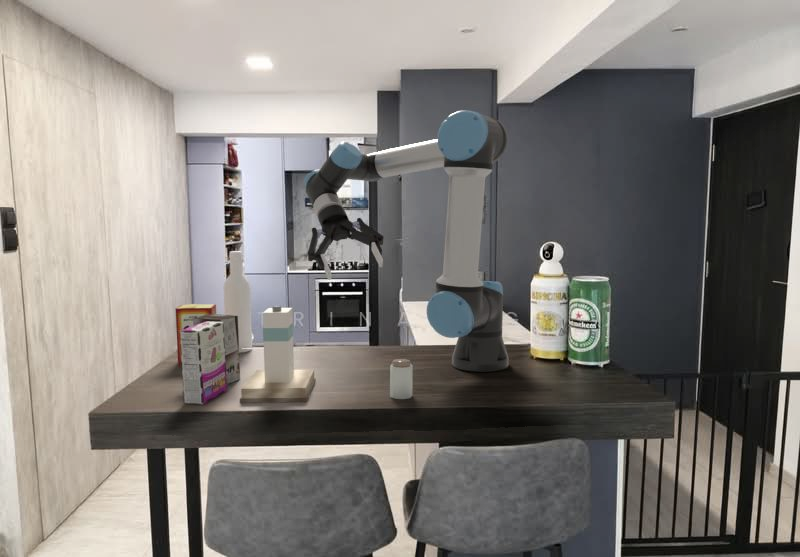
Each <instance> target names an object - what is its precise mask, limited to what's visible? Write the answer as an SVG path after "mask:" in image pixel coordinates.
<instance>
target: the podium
mask: <svg viewBox="0 0 800 557" xmlns="http://www.w3.org/2000/svg"><path fill="white" fill-rule="evenodd" d="M315 381H317V379H316V377H315V369H312V368H311V369H310V368H309V369H308V368H307V369H294V375H293V377H292V379H291V380H290V382H282V383H265V369H256V370H255V372H254V373H253V374H252V375H251V376H250V377H249V379H248V380H247V381H246V382H245V383H244V384H243V386H242V387H241V389H240V390H241V392H240V394H241V396H240V398H239V403H240V402H242V403H299V402H300V403H302V402H303V403H305V402H306V403H307V402H308V400H309V398H310V396H311V393H312V390H313V388H314V387H315V384H316V382H315Z"/></svg>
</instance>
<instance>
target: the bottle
mask: <svg viewBox="0 0 800 557" xmlns="http://www.w3.org/2000/svg"><path fill="white" fill-rule="evenodd" d="M228 257H229V272H230V274H229V275H228V276H227V278H226V279H225V280H224V284H223V305H224V306H223V307H224V309H223V310H224V315H233V316H238V336H239V354H240V353H241V352H242V353H248V352H251V351H252V350H253V332H252V299H251V298H252V297H251V295H252V293H251V283H250V281H249V279H248V278H247V277H246V276H245V275H244V274H243V273H244V272H243V252H242V251H240V250H232V251H229V255H228ZM242 348H252V349H242Z"/></svg>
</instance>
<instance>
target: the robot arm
mask: <svg viewBox="0 0 800 557" xmlns="http://www.w3.org/2000/svg"><path fill="white" fill-rule="evenodd" d="M508 146H509V135H508V131H507V128H506V127H505V126H504V124H503V123H502V122H501V121H499V120H498V119H497V118H494V117H490V116H488V115H484V114H482V113H480V112H478V111H476V110H473V111H472V110H465V109H463V110H457V111H456V112H453V113H451V114H450V115H448V116H447V117H446V119H444V120H443V121H442V122H441V125H440V127H439V129H438V132H437V138H436V139H431V140H427V141H422V142H418V143H412V144H408V145H403V146H399V147H394V148H389V149H385V150H381V151H378V152H377V151H376V152H371V153H362V152H361V150H359V148H358V147H357V146H355V145H354V144H353V143H350V142H347V141H341V142H340V143H339V144H338V145H337V146H336V147H335V148H334V149H333V150H332V152H331V153H330V155H329V156H328V157H327V159H326V160H325V162H324V163H323V165H322V166H321V168H320V169H315V170H312V171H310V172H308V173H307V174H306V176H305V177H304V179H303V185H304V189H305V193H306V195H307V197H308V199H309V201H310V202H311V204H312V208H313V210H314V212H315V216H316V218H317V220H318V222H319V224H320V227H321V228H319V229H317V227H312V228H311V240H310V242H309V246H308V247H309V248H308V252H307V261H308V262H312V261H315V263H316V264H317V266H318V268H319V269H320V270H324V273H325V275H326V278H327V280H328V281H329V280H330V281H331V280H332V271H331V268H330V266H329V264H328V261H327V259H326V257H325V253H326V252H327V250H328V248H329V247H330V246H331V245H332V244H333V241H335V242H339V241H341V240H347V239H350V240H351V241H352V240H353V241H354V240H355V241H358V242H360V243H362V244H364V245H366V246H369V247H371V252H372V254H373V257H375V260H376V262H377V264H378V266H379V268H383V267H384V259H383V256H382V255H383V248H382V245H384V236H383V235H382V234H381V233H379V232H378V231H377V230H375V229H373V228H372V227H371V226H369V225H368V224H367V223H365V222H364V221H363V219H362V218H361V217H358V218H356V221H351V220H350V219H349V217H348V215H347V212H346V211H345V209H344V206H343V203H342V202H341V200H340V198H339V195H338V192H339V191H340V189H341V188H342V187H343V186H344V184H345V183H346V182H347V180H354V181H364V182H369V183H370V182H379V181H381V180H383V179H384V178H388V177H394V176H399V175H406V174H409V173H410V174H411V173H415V172H416V173H417V172H422V171H427V170H434V169H439V168H443V170H444V171H445V173H447V175H448V177H449V180H448V194H447V197H448V198H447V210H446V220H445V221H446V222H445V236H444V237H445V238H444V239H445V240H444V253H443V267H442V268H443V269H442V274H441V275H440V276H439V277H438V278H437V279H436V281H435V293H434V294H433V295H432V296H431V298H430V299H429V300H428V303H427V305H426V318H427V321H428V323H429V325H430V326H431V328H433V330H434V332H436V333H437V334H438V335H440V336H442V337H444V338H448V339H449V338H450V339H455V338H457V340H456V343H455V347H454V351H453V353H452V356H451V365H452V366H453V367H454V368H456V369H458V370H461V371H462V370H463V371H467V372H468V371H469V372H480V373H481V372H482V373H487V372H489V373H490V372H498V371H502V370H506V369H508V367H509V360H510V359H509V358H510V357H509V355H508V352H507V348H506V345H505V342H504V338H503V318H504V317H503V313H504V310H503V309H504V308H503V307H504V293H503V292H504V290H503V285H502V283H501V282H500V281H489V280H487V281H486V280H481V279H480V277H479V266H480V263H479V262H480V251H481V250H480V249H481V248H480V247H481V236H482V225H483V224H482V222H483V209H484V198H485V196H484V195H485V184H486V183H485V182H486V177H487V176H488V175H490V174H491V173H492V172H493V164H494V163H495V162H498V160H500V159H501V158H502V157H503V156H504V155H505V153H506V151H507V149H508ZM321 235H323V236H324V239H323V240H322V241H321V243H320V245H319V247H318V248H317V246H318V241H319V239H320V237H321ZM316 249H317V250H316Z"/></svg>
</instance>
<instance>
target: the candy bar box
mask: <svg viewBox="0 0 800 557" xmlns="http://www.w3.org/2000/svg"><path fill="white" fill-rule="evenodd" d="M223 323H224V322H216V321H212V322H211V321H207V322H203V323H200V324H197V325H195V326H192V327H189V328H186V329H184V330H181V331H180V344H181V360H182V365H181V372H182V386H183V387H182V389H183V390H182V392H183V403H184V404H186V405H205V404H207V403H209V402H210V401H212V400H213V399H215V398H216V397H219V395H222V394H223V393H225V392H226V391H227V390H228V384H227V380H226V361H225V342H224V324H223Z"/></svg>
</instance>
